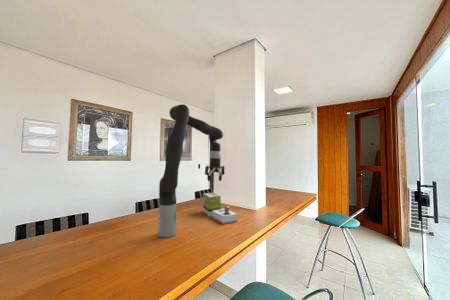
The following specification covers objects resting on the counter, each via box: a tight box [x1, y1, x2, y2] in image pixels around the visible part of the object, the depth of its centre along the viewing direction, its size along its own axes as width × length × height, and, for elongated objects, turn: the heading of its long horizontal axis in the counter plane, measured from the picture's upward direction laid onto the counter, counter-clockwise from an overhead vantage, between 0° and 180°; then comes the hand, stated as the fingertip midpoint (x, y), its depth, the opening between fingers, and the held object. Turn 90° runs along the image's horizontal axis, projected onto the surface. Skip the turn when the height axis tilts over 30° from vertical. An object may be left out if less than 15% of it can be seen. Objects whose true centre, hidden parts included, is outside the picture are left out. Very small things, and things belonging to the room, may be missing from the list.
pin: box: [224, 205, 230, 215], centre depth 129 cm, size 3×3×9 cm
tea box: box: [202, 192, 222, 217], centre depth 147 cm, size 15×10×15 cm
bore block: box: [211, 208, 238, 225], centre depth 132 cm, size 11×16×5 cm
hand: (214, 180), depth 130 cm, fingers open, 8 cm apart
